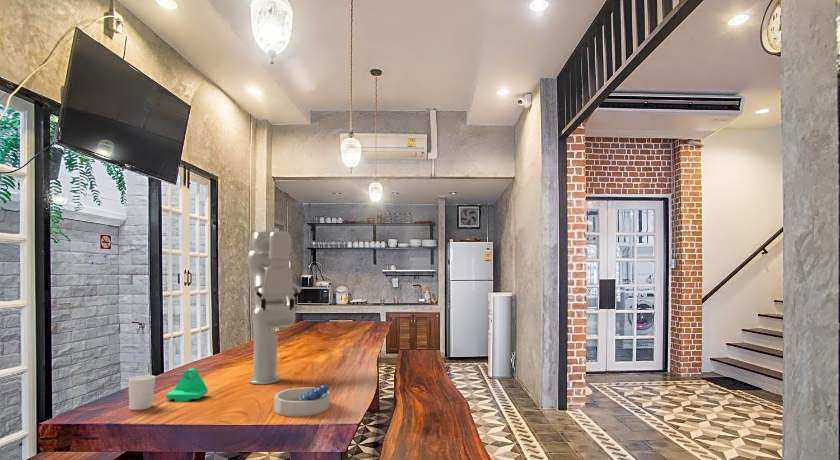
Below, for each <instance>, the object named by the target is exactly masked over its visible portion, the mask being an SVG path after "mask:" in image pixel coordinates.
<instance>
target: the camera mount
mask: <svg viewBox="0 0 840 460" xmlns="http://www.w3.org/2000/svg"><path fill="white" fill-rule="evenodd" d="M208 390H209V389H208V387H207V385H206V383H205V382H204V380H203V379H202V377H201V375H200V373H199V372H198V370H197V369H196V368H194V367H191V368H188V369H187V370H185V371H183V373H182V375H181V377H180V379H179V381H178V382H177V384H176V385H175V387H174V388H173V390H170V391H169V392H167V393H166V394H165V399H167V400H174V402H185V403H186V402H189V401H191V400H198V399H201V398H202V397H204V396H206V395H207V394H208V392H209V391H208Z"/></svg>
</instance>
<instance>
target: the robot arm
mask: <svg viewBox="0 0 840 460" xmlns="http://www.w3.org/2000/svg"><path fill="white" fill-rule="evenodd" d="M251 247H252V250H250V251H249V252H248V254H247V259H246V260H247V267H248V272H249V274H250V276H251V278H252V280H253V291H254V293H253V294H254V301H255V304H256V305H257V307H255V308H254V309H253V312H252V325H253V357H252V359H253V361H252V362H253V364H252V368H253V369H252V376H251V377H249V378H248V383H250V384H253V385H269V384H275V383H277V382H279V381H280V380H281V376H279V375H277V369H278V366H277V365H278V362H277V361H278V336H277V334H276V333H275V332H274V330H272V329H274V328H275V329H276V328H289V327H292V326H293V325H294V324H295V322H296V311H295V299H296V298H297V297H298V296H299V295H300V293H301V291H302V290H303V287H302V286H300V285H297V284H296V283H294V282H293V272H292V271H293V270H292V268H291V267H290V255H291V254H290V253H291V249H292V237H291V234H290V233H289V232H288V231H282V230H281V231H280V230H278V231H277V230H275V231H271V230H269V231H267V230H266V231H254V232H253V234H252V237H251ZM293 288H294V289H296V292H295V293H293Z"/></svg>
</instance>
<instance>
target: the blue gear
mask: <svg viewBox="0 0 840 460" xmlns="http://www.w3.org/2000/svg"><path fill="white" fill-rule="evenodd" d="M313 388H314V387H312V388H310V390H309V392H308V394H306V395H305V394H303V395H302V396H300V398H299V401H309V400H315V399H319V398H321V397H322V396H323V394H326V393H327V391H329V386H328V385H327V384H321V385H320V386H317V387H315V388H316V389H313Z"/></svg>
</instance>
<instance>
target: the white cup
mask: <svg viewBox="0 0 840 460" xmlns="http://www.w3.org/2000/svg"><path fill="white" fill-rule="evenodd" d="M155 383H156V375H152V374H143V375H136V376H131V377H129V378H128V409H129V410H131V411H141V410H146V409H150V408H151V407H152V406H153V401H154V400H153V398H154V392H155Z"/></svg>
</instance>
